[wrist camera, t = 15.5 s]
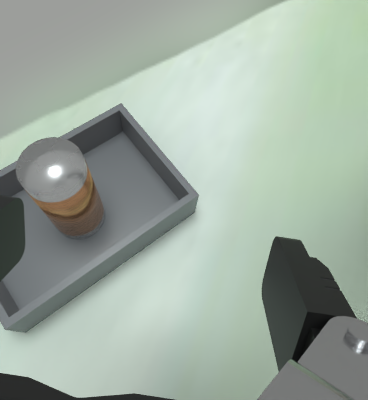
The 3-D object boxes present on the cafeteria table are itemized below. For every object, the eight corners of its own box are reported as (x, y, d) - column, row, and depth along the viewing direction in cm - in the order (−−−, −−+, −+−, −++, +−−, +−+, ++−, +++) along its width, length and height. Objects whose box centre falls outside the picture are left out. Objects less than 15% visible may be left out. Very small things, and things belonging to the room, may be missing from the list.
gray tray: (125, 128, 50) (121, 103, 45) (194, 212, 46) (198, 194, 41) (-38, 222, 43) (-64, 205, 38) (25, 332, 39) (5, 329, 34)
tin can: (110, 197, 45) (91, 141, 33) (99, 242, 42) (75, 200, 31) (62, 190, 45) (27, 132, 33) (49, 235, 42) (5, 191, 30)
